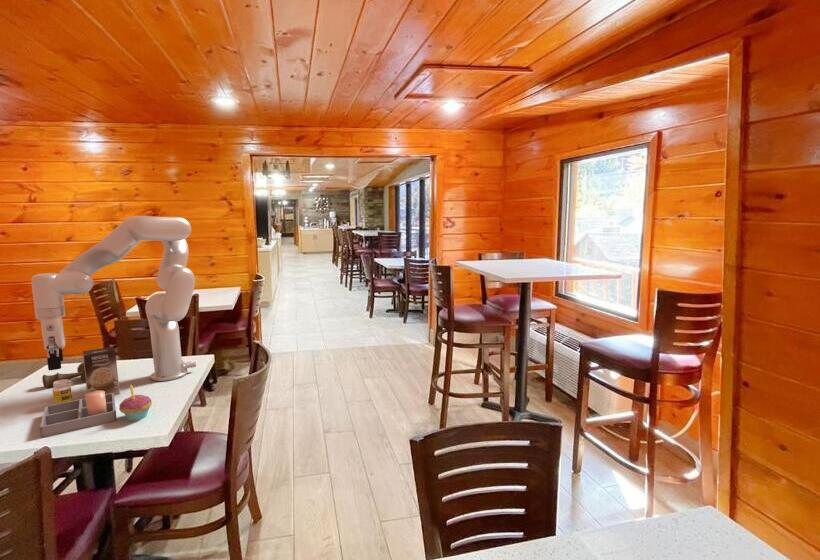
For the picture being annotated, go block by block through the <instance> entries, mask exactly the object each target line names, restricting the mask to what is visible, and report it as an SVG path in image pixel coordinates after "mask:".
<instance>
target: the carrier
mask: <svg viewBox="0 0 820 560" xmlns="http://www.w3.org/2000/svg"><path fill="white" fill-rule="evenodd" d="M105 399H106V407H107V413H102V414H97V415H93V416H88V413H87V405H86V398H85V397H84V398H80V399H75V400H72V401H69V402H64V403H59V404H54V403H53V404H50V405H45V406H44V410H43V414H42V417H41V421H40V425H39V430H40V438H41V439H42V438H46V437H50V436H54V435H60V434H64V433H69V432H73V431H77V430H81V429H82V430H83V429H86V428H90V427H94V426H99V425H104V424H108V423H113V422H117V421H118V418H117V409H116V400H115V399H116V398H115V395H114V393H109V394H105Z"/></svg>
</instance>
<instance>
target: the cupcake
mask: <svg viewBox="0 0 820 560" xmlns="http://www.w3.org/2000/svg"><path fill="white" fill-rule="evenodd" d="M129 389H130V393H131V394H130V395H131V396H128V397H127V398H125V399H123V400H122V401H121V402H120V404H119V406H118V407H119V411H120V413H122V414H124V416H125V417H126V419H127V421H129V422H130V421H131V422H136V421H139V420H143V419H145V418H146V417H147V416H148V412H149V410H150V407H151V406H152V404H153V401H152V399H151V398H150V397H149V396H147V395H144V394H135V392H134V387H133V385H132V383H130V385H129Z"/></svg>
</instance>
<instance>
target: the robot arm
mask: <svg viewBox="0 0 820 560" xmlns="http://www.w3.org/2000/svg"><path fill="white" fill-rule="evenodd" d="M191 233H192V226H191V223H190V222H189V221H188V220H187V219H186V218H184V217H180V216H151V215H133V216H128V217H127V218H126V219H124V220H123V221H122V222H120V224H118V225H117V226H116V227H115V228H114V229H113V230H111V232H109V233H108V234H106V236H105V237H104V238H103V239H101V240H100V241H98V243H96V244H95V245H93V246H91V247H90V248H88V249H87V250H86V251H83V252H82V253H81V254H80V255H78V256H77V257H76V258H74V259H73V260H72V261H71V262H70V263H68V264H67V265H66V266H64V268H62V269H61V271H59V272H58V273H55V272H47V273H45V272H44V273H37V274H34V275H33V276H32V277H31V281H30V282H31V289H32V296H33V297H32V298H33V299H32V300H33V307H34V316H35V320H39V321H40V326H41V327H40V328H41V334H42V342H43V347H44V350H45V351H46V352H47V353H46V354H47V358H46V360H47V369H48V371H56V370H60V369H62V362H63V361H64V355H63V349H64V348H65V347H66V337H65V329H64V323H63V318H65V317H66V316H67V315H66V307H65V299H64V296H65V295H74V296H75V295H76V296H79V295H85V294H86V293H88V292H90V291H91V290H92V288H93V287H94V279H93V275H94V274H95V273H96V272H98V271H99V270H101V269H103V268H105V267H108V266H111V265H114V264H115V263H118V262H120V261H122V259H124V258H125V257H126V256H127V255H128V254H129V253H130V252H131V251H132V250H133V249H134V248H135V247H137V246H138V245H139V244H140V243H141V242H142V241H147V242H148V241H151V242H153V241H154V242H156V241H157V242H159V241H160V242H161V243H162V246H163V254H162V259H161V261H160V265H159V269H158V271H157V275H156V284H157V285H158V287H159V288H161V289H162V290H165V293H163V292H162V293H155V294H152V295H151V296H150V297H149V298H148V299H147V300H146V303H145V308H144V309H145V314H146V319H147V322H148V326H149V332H150V341H151V349H152V350H151V351H152V359H153V361H152V362H153V371H154V372H152V373H151V374H150V376H149V377H150V380H152V381H153V382H167V381H173V380H176V379H181V378H182V377H184V376H186V375H187V374H188V369H189V368H191V369H192V368H196V367H197V363H196V361H193V362H192V361H187V362H185V361H183V360H182V359H183V358H182V348H181V339H180V327H179V323H178V322H179V321H181V320H183V319H184V318H185V317H186V315H187V313H188V311H189V308H190V305H191V301H192V297H193V294H194V290H195V287H196V276H195V275H194V272H193V271H192V270H191V269H190V268H188V267H187V263H188V259H189V255H190V254H189V252H190V251H189V244H188V242H187V240H186V239H187V238H188V237H189V236H190V235H191Z"/></svg>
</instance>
